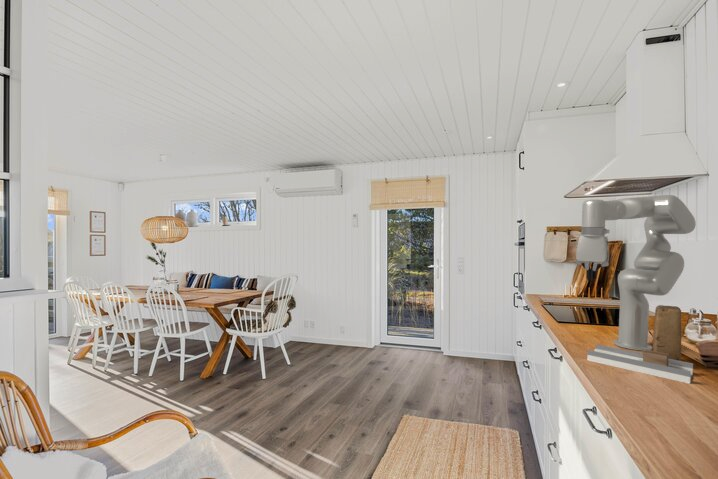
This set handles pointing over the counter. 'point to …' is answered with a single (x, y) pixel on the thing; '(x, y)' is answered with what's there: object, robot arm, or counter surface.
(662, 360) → the walnut block
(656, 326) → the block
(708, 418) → the counter surface
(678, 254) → the robot arm
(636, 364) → the board
